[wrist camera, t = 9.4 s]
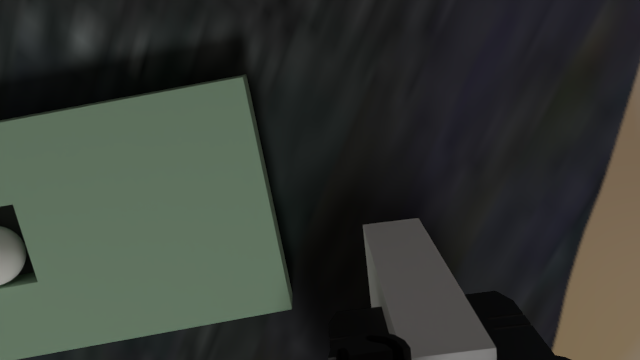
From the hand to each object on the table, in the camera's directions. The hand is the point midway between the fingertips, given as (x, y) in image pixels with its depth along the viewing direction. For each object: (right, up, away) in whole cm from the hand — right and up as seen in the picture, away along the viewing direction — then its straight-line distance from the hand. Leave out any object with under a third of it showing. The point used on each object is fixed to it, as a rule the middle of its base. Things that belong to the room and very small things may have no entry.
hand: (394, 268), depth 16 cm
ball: (-24, -3, +23) cm, 33 cm away
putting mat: (-17, 0, +25) cm, 31 cm away
